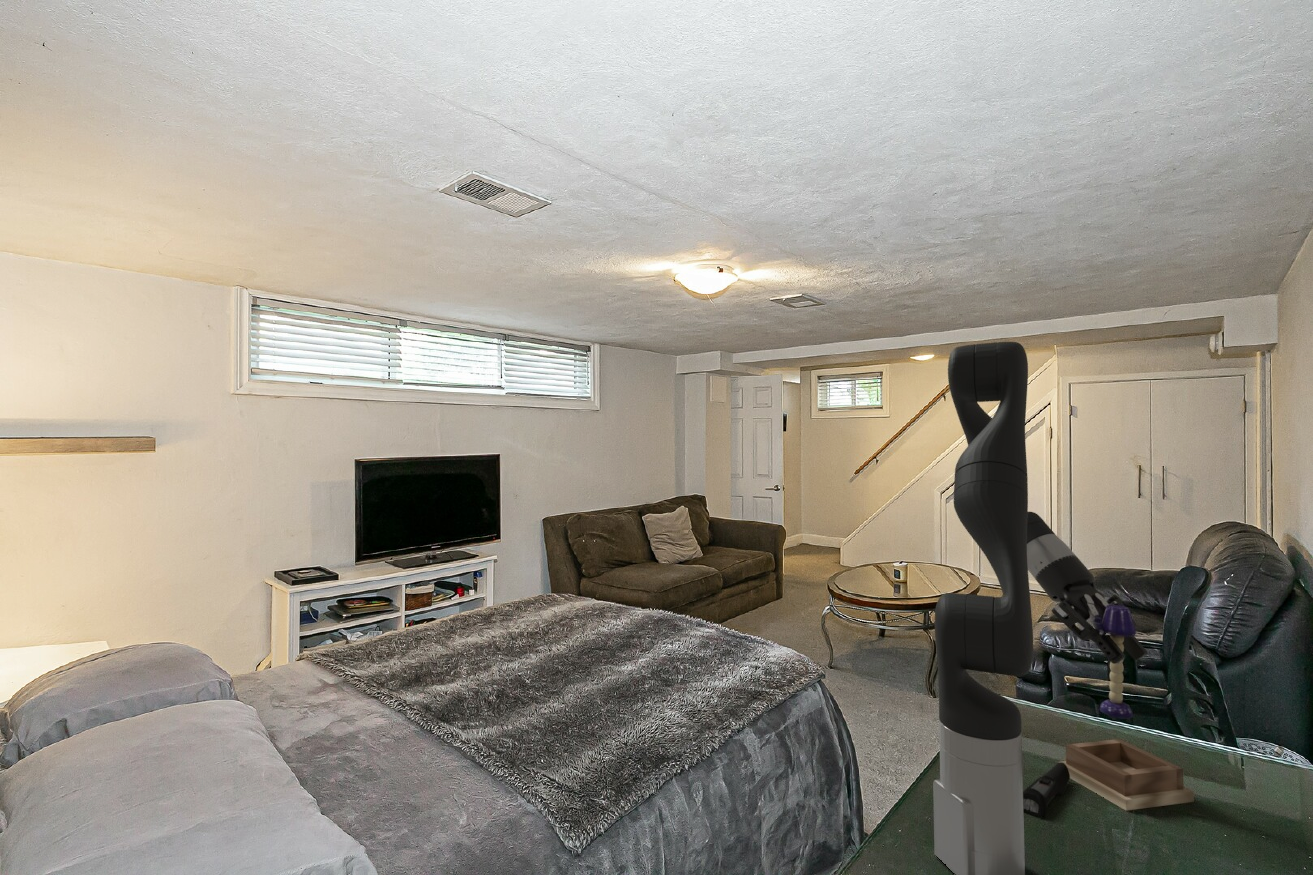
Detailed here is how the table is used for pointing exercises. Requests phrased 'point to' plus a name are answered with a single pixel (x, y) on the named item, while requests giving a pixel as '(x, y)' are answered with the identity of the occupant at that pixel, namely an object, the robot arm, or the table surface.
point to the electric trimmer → (1045, 790)
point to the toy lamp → (1118, 626)
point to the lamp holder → (1126, 774)
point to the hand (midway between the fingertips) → (1130, 658)
